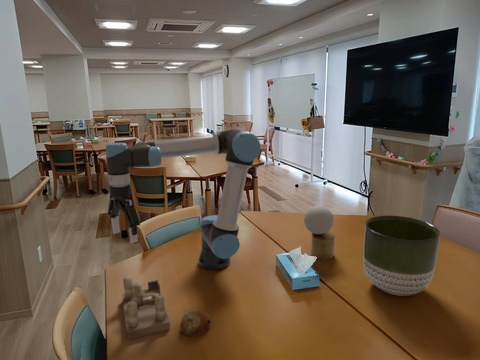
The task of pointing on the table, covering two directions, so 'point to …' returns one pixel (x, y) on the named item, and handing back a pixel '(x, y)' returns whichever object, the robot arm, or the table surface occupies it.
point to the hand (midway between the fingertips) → (125, 237)
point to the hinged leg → (139, 295)
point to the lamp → (320, 231)
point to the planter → (400, 253)
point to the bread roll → (194, 323)
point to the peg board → (144, 311)
